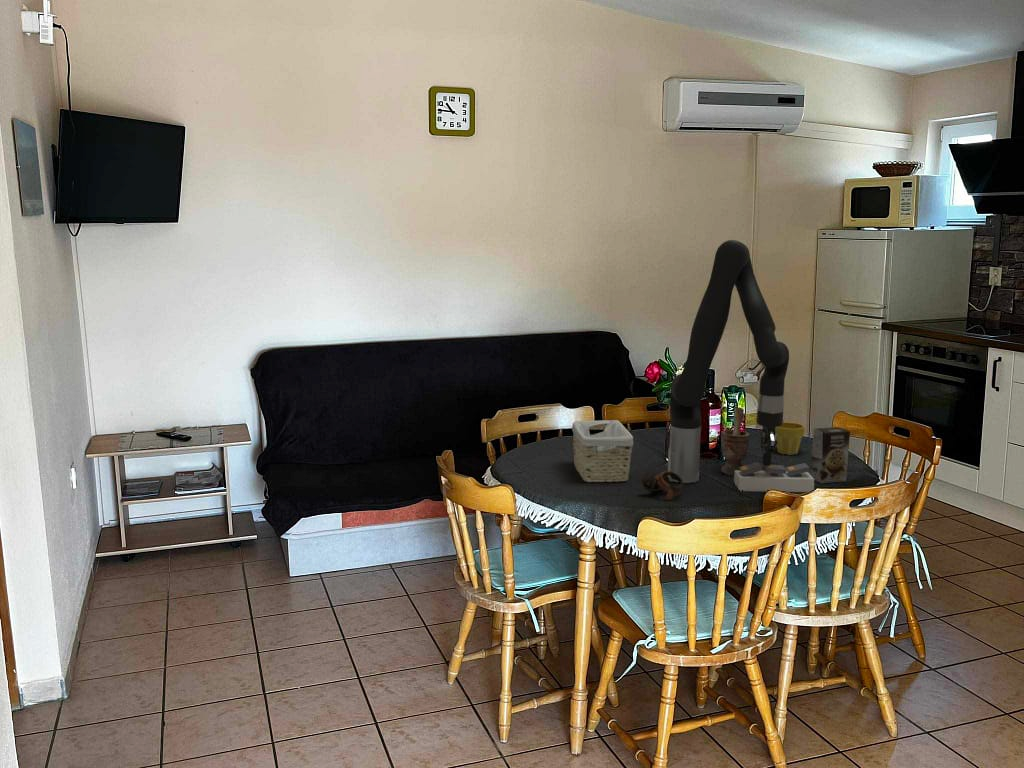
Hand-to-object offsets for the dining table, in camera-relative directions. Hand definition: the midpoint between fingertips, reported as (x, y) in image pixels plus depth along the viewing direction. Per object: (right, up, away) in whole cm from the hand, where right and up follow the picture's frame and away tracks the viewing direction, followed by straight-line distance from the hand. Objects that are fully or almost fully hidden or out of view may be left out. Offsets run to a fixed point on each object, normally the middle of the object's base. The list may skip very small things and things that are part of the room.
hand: (766, 464), depth 276 cm
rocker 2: (+2, -1, 0) cm, 3 cm away
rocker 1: (-5, -1, +1) cm, 5 cm away
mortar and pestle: (-6, -4, +19) cm, 20 cm away
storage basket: (-48, -4, +16) cm, 51 cm away
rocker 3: (+9, -1, 0) cm, 9 cm away
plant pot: (+18, +1, +40) cm, 44 cm away
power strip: (+2, -7, +1) cm, 8 cm away
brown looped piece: (-33, -9, -6) cm, 34 cm away
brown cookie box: (+22, -6, +9) cm, 24 cm away
